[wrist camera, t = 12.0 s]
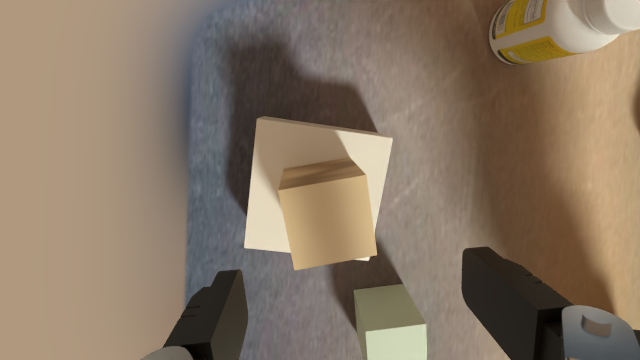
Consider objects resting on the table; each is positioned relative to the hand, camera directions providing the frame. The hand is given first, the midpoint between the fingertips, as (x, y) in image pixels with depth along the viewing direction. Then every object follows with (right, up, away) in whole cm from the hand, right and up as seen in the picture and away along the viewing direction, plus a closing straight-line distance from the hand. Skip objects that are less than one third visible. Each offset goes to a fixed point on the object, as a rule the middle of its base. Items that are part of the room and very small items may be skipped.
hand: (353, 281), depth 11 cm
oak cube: (-1, +3, +13) cm, 13 cm away
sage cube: (+5, -9, +21) cm, 23 cm away
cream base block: (-2, +4, +17) cm, 18 cm away
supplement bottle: (+15, +16, +15) cm, 27 cm away
